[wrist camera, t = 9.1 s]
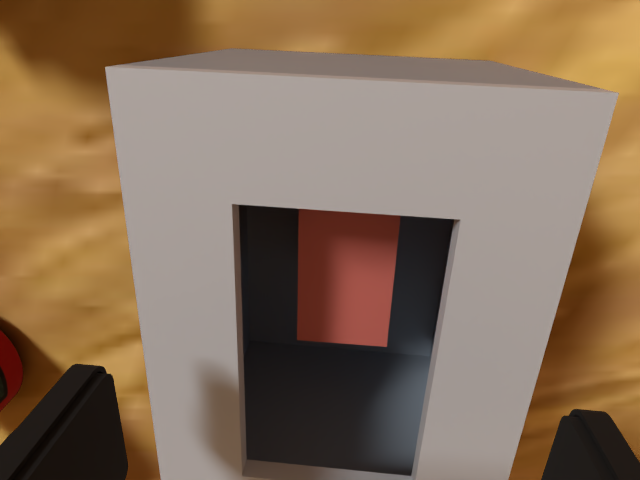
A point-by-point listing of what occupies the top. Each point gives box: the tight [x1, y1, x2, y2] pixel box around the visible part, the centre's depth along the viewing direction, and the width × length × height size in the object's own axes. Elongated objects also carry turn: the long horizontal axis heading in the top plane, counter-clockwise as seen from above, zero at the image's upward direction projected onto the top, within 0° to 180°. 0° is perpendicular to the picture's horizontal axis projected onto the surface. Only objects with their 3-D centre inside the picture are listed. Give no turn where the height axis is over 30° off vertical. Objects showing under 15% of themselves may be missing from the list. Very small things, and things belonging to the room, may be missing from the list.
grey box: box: [105, 49, 619, 480], centre depth 17 cm, size 14×10×10 cm
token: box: [297, 209, 401, 347], centre depth 17 cm, size 6×3×6 cm
